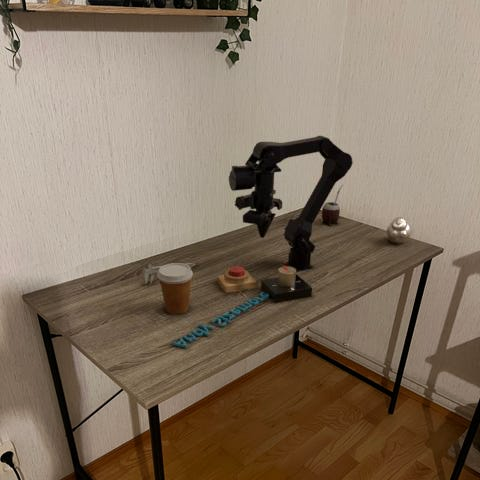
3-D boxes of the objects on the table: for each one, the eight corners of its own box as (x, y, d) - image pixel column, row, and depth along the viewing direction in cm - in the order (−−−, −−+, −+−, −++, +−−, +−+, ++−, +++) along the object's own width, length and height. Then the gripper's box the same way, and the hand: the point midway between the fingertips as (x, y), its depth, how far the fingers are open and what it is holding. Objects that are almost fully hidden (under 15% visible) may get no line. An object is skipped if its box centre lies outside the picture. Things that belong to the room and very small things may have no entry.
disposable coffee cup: (180, 320, 133) (177, 280, 127) (153, 310, 137) (149, 271, 131) (200, 306, 140) (199, 267, 134) (174, 297, 144) (172, 259, 138)
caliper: (146, 285, 151) (144, 266, 147) (143, 284, 151) (142, 265, 148) (196, 266, 163) (195, 248, 160) (193, 265, 164) (193, 247, 161)
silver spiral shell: (378, 241, 185) (383, 215, 179) (396, 236, 189) (400, 211, 184) (397, 249, 178) (402, 222, 173) (414, 244, 183) (420, 218, 178)
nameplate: (168, 343, 123) (182, 351, 120) (168, 341, 122) (182, 348, 119) (260, 293, 147) (273, 298, 144) (260, 290, 146) (273, 296, 144)
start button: (240, 270, 152) (240, 265, 151) (245, 276, 149) (245, 271, 148) (227, 272, 151) (227, 267, 150) (232, 278, 147) (232, 273, 146)
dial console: (295, 282, 153) (296, 273, 152) (311, 296, 145) (312, 287, 144) (260, 288, 150) (261, 279, 148) (274, 303, 142) (275, 293, 140)
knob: (298, 286, 145) (299, 271, 142) (282, 288, 143) (283, 273, 141) (290, 278, 149) (291, 264, 146) (274, 281, 147) (275, 266, 145)
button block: (246, 277, 156) (246, 265, 154) (256, 288, 150) (256, 276, 148) (216, 282, 153) (216, 270, 151) (225, 293, 147) (225, 281, 145)
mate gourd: (320, 225, 199) (324, 188, 192) (321, 219, 206) (324, 183, 198) (339, 226, 198) (343, 189, 191) (339, 220, 205) (343, 184, 197)
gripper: (250, 177, 156) (249, 224, 164) (226, 192, 141) (226, 243, 149) (284, 181, 152) (281, 229, 160) (262, 196, 138) (260, 249, 145)
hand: (262, 237), depth 154 cm, fingers closed
